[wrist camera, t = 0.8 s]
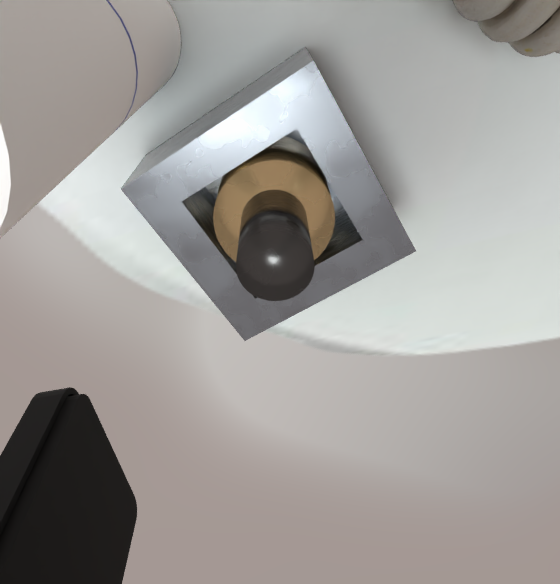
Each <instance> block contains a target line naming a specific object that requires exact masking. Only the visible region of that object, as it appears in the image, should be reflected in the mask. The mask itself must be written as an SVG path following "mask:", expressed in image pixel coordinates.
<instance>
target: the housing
mask: <svg viewBox="0 0 560 584" xmlns="http://www.w3.org/2000/svg"><path fill="white" fill-rule="evenodd" d="M284 136H285V137H289V138H292V139H294V140H296V141H299V142H300V143H302V144H303V145H305V146H306V147H307V148H309V150H310V151H311V153H312V155H313V156H314V158H315V160H316V161H317V163H318V165H319V167H320V168H321V170H322V172H323V173H324V175H325V178H326V181H327V184H328V188H329V191H330V195H331V198H332V201H333V205H334V210H335V225H334V230H333V234H332V236H331V239H330V241H329V243H328V245H327V247H326V248H325V249H324V251H323V252H322V253H321V254H320V255H319V256H318V257H317V258H316V259H315V260H314V264H315V268H314V274H313V277H312V280H311V282H310V283H309V285H308V286H307V287H306V288H305V289H304V290H303V291H302V292H301V293H300V294H298V295H296V296H295V297H292V298H290V299H287V300H282V301H268V300H263V299H260V298H257V297H255V296H254V295H252V294H250V293H249V292H248V291H247V290H246V289H245V288H244V287H243V286H242V284H241V283H240V281H239V279H238V277H237V273H236V262H235V261H234V260H233V259H232V258H231V257H229V255H228V254H227V253H226V252H225V251H224V249H223V248H222V246H221V245H220V243H219V241H218V239H217V236H216V233H215V230H214V224H213V212H214V206H215V202H216V198H217V194H218V190H219V186H220V182H221V178H222V176H223V175H224V174H226V173H227V172H229V171H230V170H232V169H234V168H235V167H237V166H238V165H240V164H242V163H243V162H245V161H246V160H248V159H249V158H251V157H253V156H254V155H256V154H257V153H259V152H260V151H262V150H264V149H265V148H267V147H268V146H270V145H272V144H273V143H275V142H276V141H278V140H279V139H281V138H283V137H284ZM121 190H122V191H123V192H124V193H125V195H126V196H127V197H128V198H129V200H130V201H131V202H132V203H133V204H134V206H135V207H136V208H137V209H138V211H139V212H140V213H141V214H142V215H143V217H144V218H145V219H146V220H147V222H148V223H149V224H150V225H151V227H152V228H153V229H154V230H155V231H156V233H157V234H158V235H159V236H160V238H161V239H162V240H163V241H164V242H165V244H166V245H167V246H168V247H169V249H170V250H171V251H172V252H173V253H174V255H175V256H176V257H177V258H178V260H179V261H180V262H181V263H182V265H183V266H184V267H185V268H186V269H187V271H188V272H189V273H190V274H191V276H192V277H193V278H194V279H195V280H196V282H197V283H198V284H199V285H200V287H201V288H202V289H203V290H204V291H205V293H206V294H207V295H208V296H209V298H210V299H211V300H212V301H213V303H214V304H215V305H216V306H217V307H218V309H219V310H220V311H221V312H222V314H223V315H224V316H225V317H226V318H227V320H228V321H229V322H230V323H231V325H232V326H233V327H234V328H235V329H236V331H237V332H238V333H239V334H240V336H241V337H242V338H243V339H244V340H245V341H246V340H247V339H249V338H251V337H253V336H255V335H257V334H259V333H261V332H263V331H265V330H267V329H268V328H270V327H272V326H274V325H276V324H278V323H280V322H282V321H284V320H286V319H288V318H289V317H291V316H293V315H295V314H297V313H299V312H301V311H303V310H305V309H307V308H308V307H310V306H312V305H314V304H316V303H318V302H320V301H322V300H324V299H326V298H328V297H329V296H331V295H333V294H335V293H337V292H339V291H341V290H343V289H345V288H347V287H349V286H350V285H352V284H354V283H356V282H358V281H360V280H362V279H364V278H366V277H368V276H370V275H371V274H373V273H375V272H377V271H379V270H381V269H383V268H385V267H387V266H389V265H391V264H392V263H394V262H396V261H398V260H400V259H402V258H404V257H406V256H408V255H410V254H411V253H413V252H415V251H416V250H415V248H414V246H413V244H412V242H411V241H410V239H409V237H408V235H407V233H406V231H405V229H404V228H403V226H402V224H401V222H400V220H399V218H398V216H397V215H396V213H395V211H394V209H393V207H392V205H391V203H390V202H389V200H388V198H387V196H386V194H385V192H384V190H383V189H382V187H381V185H380V183H379V181H378V179H377V177H376V176H375V174H374V172H373V170H372V168H371V166H370V164H369V163H368V161H367V159H366V157H365V155H364V153H363V151H362V150H361V148H360V146H359V144H358V142H357V140H356V138H355V136H354V135H353V133H352V131H351V129H350V127H349V125H348V123H347V122H346V120H345V118H344V116H343V114H342V112H341V110H340V109H339V107H338V105H337V103H336V101H335V99H334V97H333V96H332V94H331V92H330V90H329V88H328V86H327V84H326V83H325V81H324V79H323V77H322V75H321V73H320V71H319V70H318V68H317V66H316V64H315V62H314V60H313V59H312V57H311V55H310V54H309V52H308V50H307V49H306V47H305V48H303V49H302V50H300V51H299V52H297V53H296V54H294V55H293V56H291V57H290V58H288V59H287V60H285V61H284V62H283V63H281V64H280V65H278V66H277V67H275V68H274V69H272V70H271V71H269V72H268V73H266V74H265V75H263V76H262V77H260V78H259V79H257V80H256V81H254V82H253V83H251V84H250V85H248V86H247V87H246V88H244V89H243V90H241V91H240V92H238V93H237V94H235V95H234V96H232V97H231V98H229V99H228V100H226V101H225V102H223V103H222V104H220V105H219V106H217V107H216V108H214V109H213V110H212V111H210V112H209V113H207V114H206V115H204V116H203V117H201V118H200V119H198V120H197V121H195V122H194V123H192V124H191V125H189V126H188V127H186V128H185V129H183V130H182V131H180V132H179V133H178V134H176V135H175V136H173V137H172V138H170V139H169V140H167V141H166V142H164V143H163V144H161V145H160V146H158V147H157V148H155V149H154V150H152V151H151V152H149V153H148V154H146V155H145V157H144V158H143V159H142V161H141V162H140V163H139V165H138V166H137V167H136V169H135V170H134V172H133V173H132V174H131V176H130V177H129V178H128V180H127V181H126V182H125V184H124V185H123V187H122V188H121Z"/></svg>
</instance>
